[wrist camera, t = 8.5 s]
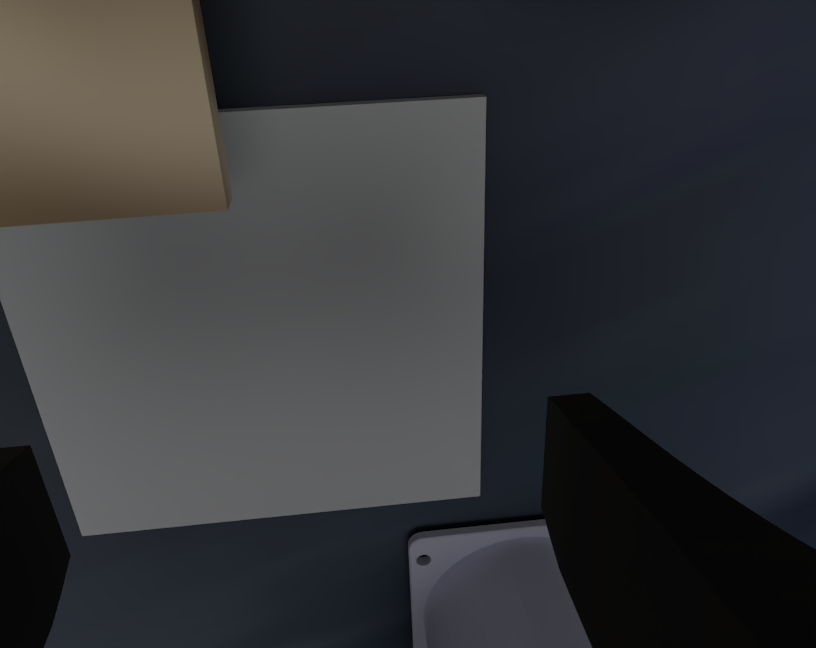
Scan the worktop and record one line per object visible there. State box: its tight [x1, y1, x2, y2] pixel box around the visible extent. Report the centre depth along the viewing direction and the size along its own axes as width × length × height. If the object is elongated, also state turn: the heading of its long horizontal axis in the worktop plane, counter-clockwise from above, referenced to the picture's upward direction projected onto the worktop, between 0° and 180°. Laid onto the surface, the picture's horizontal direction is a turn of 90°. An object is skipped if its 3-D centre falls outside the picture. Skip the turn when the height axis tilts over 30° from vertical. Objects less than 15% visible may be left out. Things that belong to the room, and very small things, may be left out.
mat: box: [0, 94, 486, 536], centre depth 20 cm, size 13×13×1 cm
